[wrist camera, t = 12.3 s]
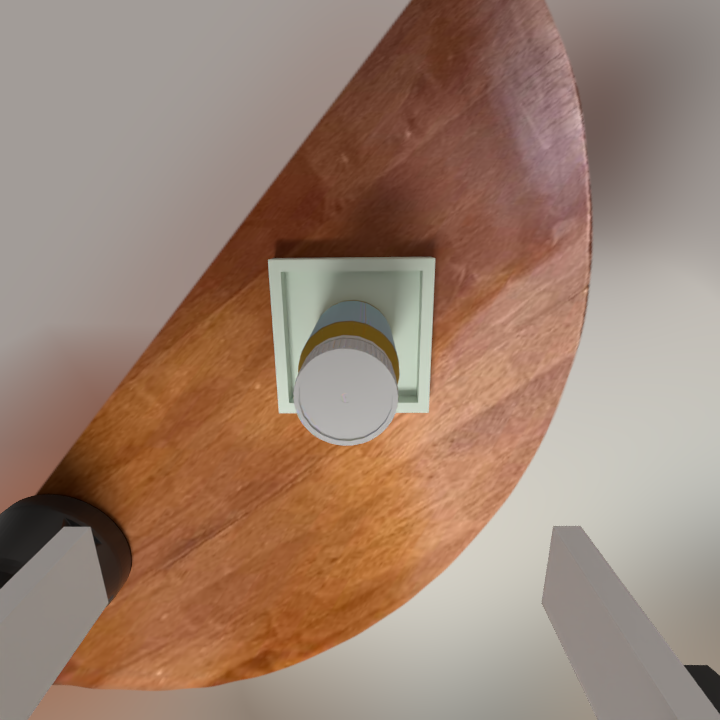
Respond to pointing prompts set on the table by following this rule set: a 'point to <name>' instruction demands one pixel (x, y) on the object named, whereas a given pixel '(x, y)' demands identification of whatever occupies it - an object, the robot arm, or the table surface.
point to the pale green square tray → (364, 283)
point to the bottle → (348, 375)
